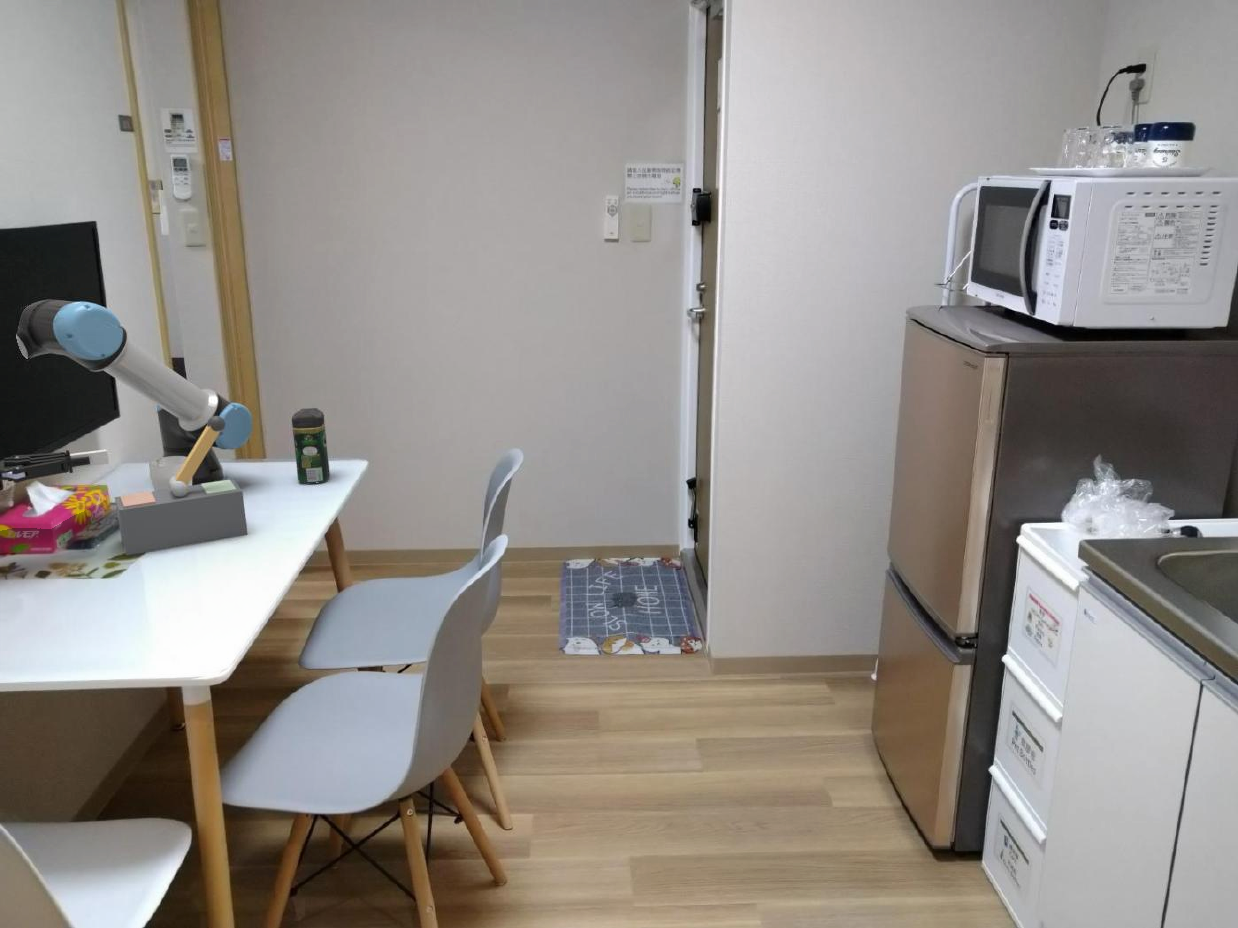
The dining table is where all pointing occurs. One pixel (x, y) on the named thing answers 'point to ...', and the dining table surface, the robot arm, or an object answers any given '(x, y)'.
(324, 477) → the coffee jar
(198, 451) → the lever
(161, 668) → the dining table surface
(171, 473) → the cup
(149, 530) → the breaker box
